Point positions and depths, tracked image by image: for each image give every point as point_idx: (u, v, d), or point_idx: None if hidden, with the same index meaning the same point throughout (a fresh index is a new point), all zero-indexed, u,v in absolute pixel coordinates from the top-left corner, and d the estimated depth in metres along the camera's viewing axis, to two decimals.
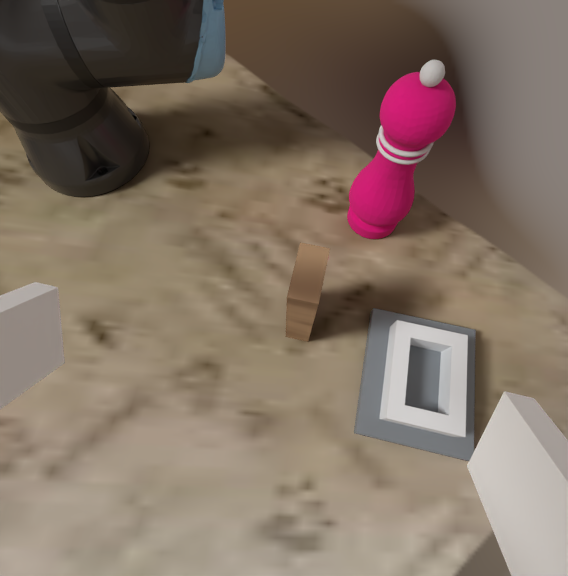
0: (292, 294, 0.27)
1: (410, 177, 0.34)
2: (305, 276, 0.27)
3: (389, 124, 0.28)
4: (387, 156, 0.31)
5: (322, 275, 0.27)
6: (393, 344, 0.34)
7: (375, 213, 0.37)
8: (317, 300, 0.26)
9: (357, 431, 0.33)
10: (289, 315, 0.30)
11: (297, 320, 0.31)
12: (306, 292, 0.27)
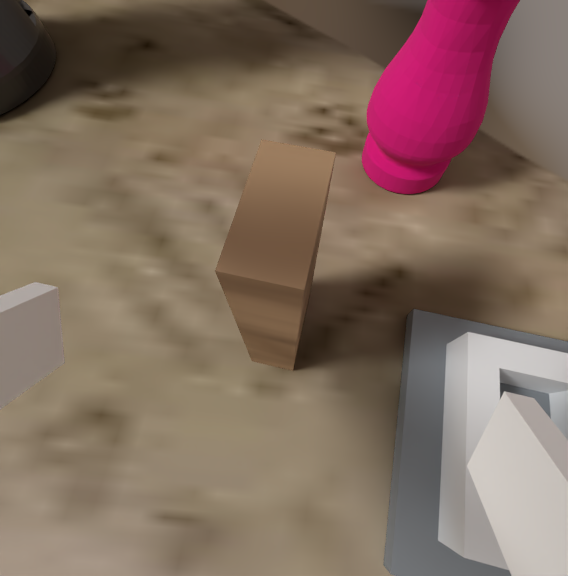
0: (230, 263, 0.09)
1: (494, 48, 0.17)
2: (271, 217, 0.10)
3: None
4: None
5: (316, 215, 0.10)
6: (463, 382, 0.17)
7: (417, 133, 0.20)
8: (301, 280, 0.09)
9: (393, 570, 0.15)
10: (241, 322, 0.13)
11: (263, 333, 0.14)
12: (271, 257, 0.10)
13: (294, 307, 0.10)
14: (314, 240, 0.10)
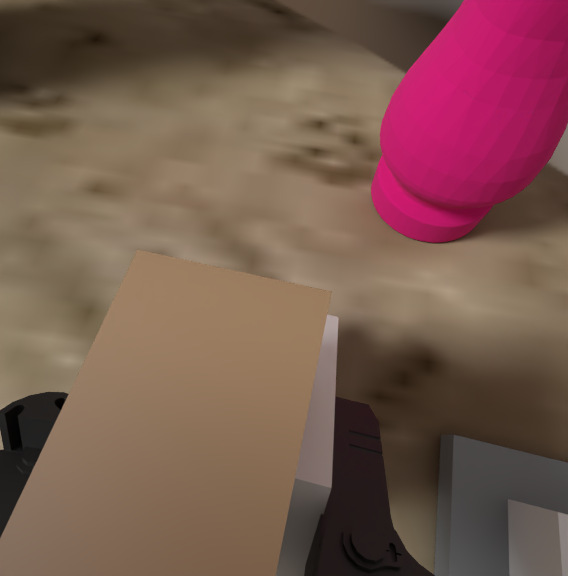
0: None
1: None
2: (119, 549, 0.03)
3: None
4: None
5: (266, 538, 0.03)
6: None
7: (460, 168, 0.13)
8: None
9: None
10: None
11: None
12: None
13: None
14: None
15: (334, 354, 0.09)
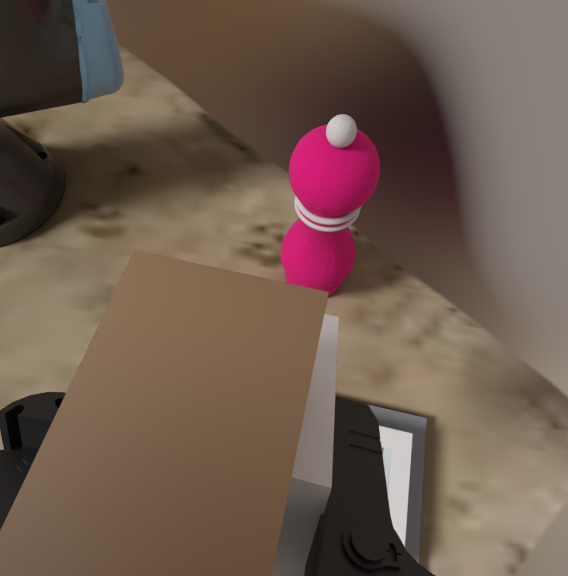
0: None
1: (342, 240, 0.28)
2: (115, 549, 0.03)
3: (296, 189, 0.22)
4: (305, 221, 0.25)
5: (262, 539, 0.03)
6: None
7: (306, 277, 0.31)
8: None
9: None
10: None
11: None
12: None
13: None
14: None
15: (334, 354, 0.09)
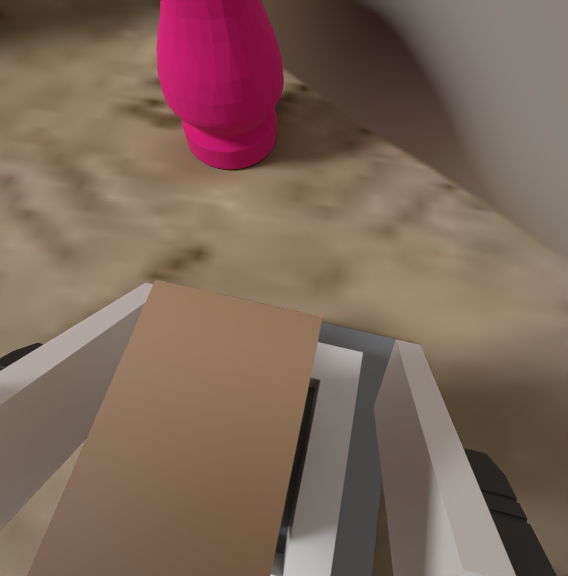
0: None
1: None
2: (145, 534, 0.04)
3: None
4: None
5: (266, 526, 0.04)
6: None
7: (189, 93, 0.18)
8: None
9: None
10: None
11: None
12: None
13: None
14: None
15: (438, 393, 0.08)
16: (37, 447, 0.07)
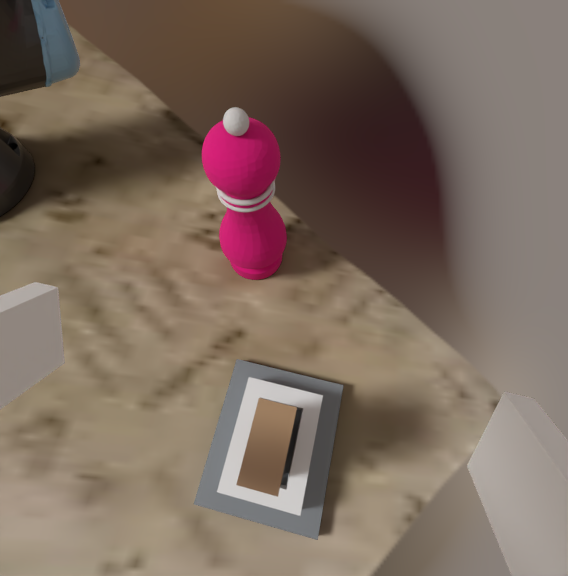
0: (243, 480, 0.20)
1: (264, 222, 0.32)
2: (263, 451, 0.21)
3: (206, 173, 0.26)
4: (224, 203, 0.29)
5: (285, 450, 0.21)
6: (241, 404, 0.31)
7: (238, 257, 0.34)
8: (276, 490, 0.20)
9: (195, 502, 0.30)
10: None
11: None
12: (262, 476, 0.20)
13: None
14: (283, 466, 0.20)
15: None
16: None
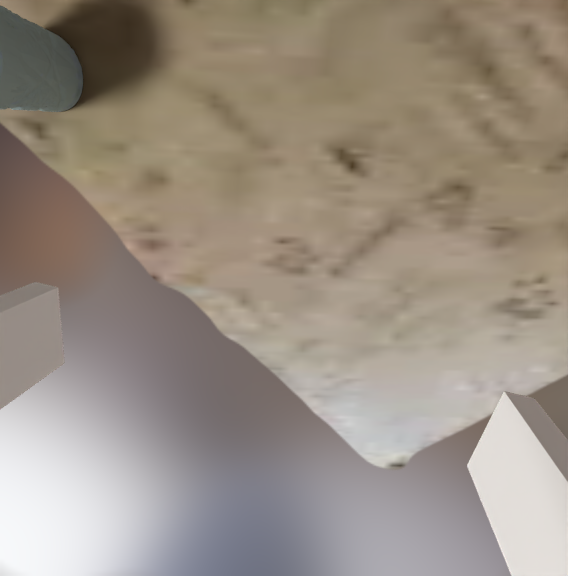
0: None
1: None
2: None
3: None
4: None
5: None
6: None
7: None
8: None
9: None
10: None
11: None
12: None
13: None
14: None
15: None
16: None
